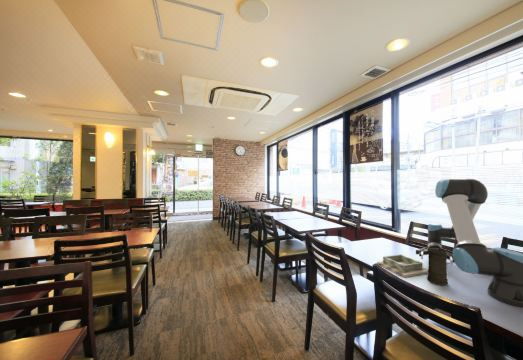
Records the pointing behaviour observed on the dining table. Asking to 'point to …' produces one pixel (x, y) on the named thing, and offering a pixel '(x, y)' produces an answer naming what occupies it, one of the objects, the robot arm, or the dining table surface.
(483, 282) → the dining table surface
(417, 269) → the collar board
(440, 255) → the container
